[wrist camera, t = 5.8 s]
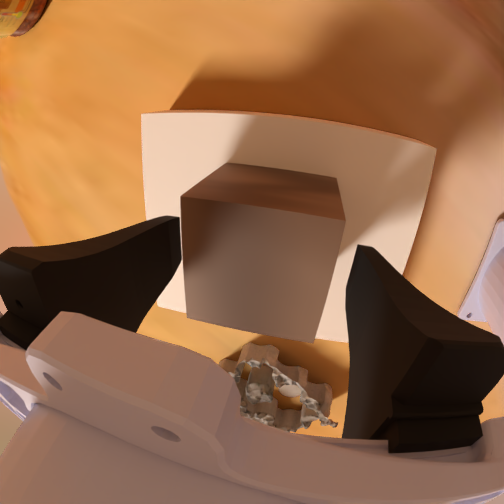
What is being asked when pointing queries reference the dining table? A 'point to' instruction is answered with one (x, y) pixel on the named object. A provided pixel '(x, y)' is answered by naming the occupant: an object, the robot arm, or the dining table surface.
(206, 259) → the walnut cube
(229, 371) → the egg carton
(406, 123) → the dining table surface
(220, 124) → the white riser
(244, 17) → the dining table surface
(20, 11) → the sauce bottle
